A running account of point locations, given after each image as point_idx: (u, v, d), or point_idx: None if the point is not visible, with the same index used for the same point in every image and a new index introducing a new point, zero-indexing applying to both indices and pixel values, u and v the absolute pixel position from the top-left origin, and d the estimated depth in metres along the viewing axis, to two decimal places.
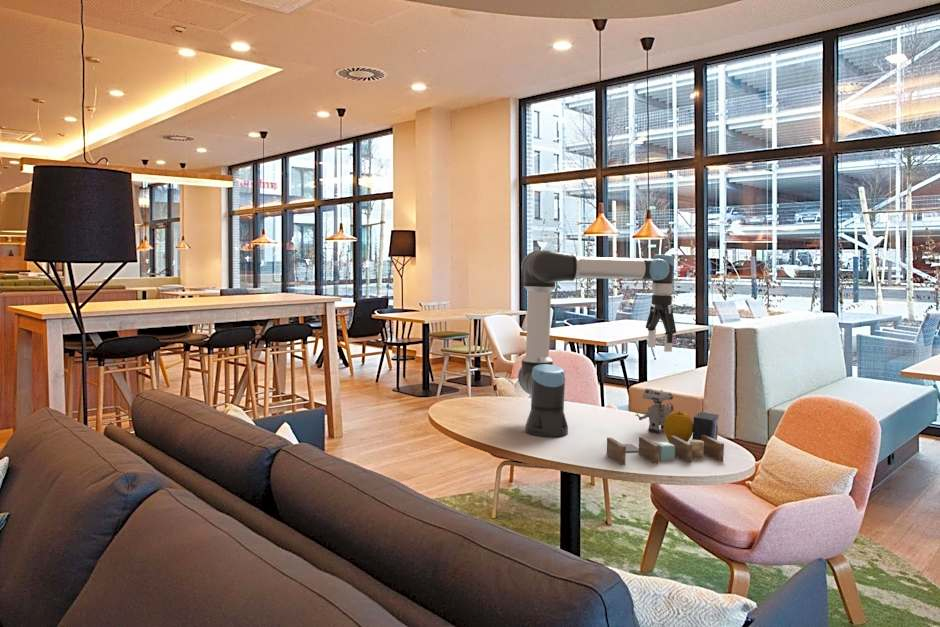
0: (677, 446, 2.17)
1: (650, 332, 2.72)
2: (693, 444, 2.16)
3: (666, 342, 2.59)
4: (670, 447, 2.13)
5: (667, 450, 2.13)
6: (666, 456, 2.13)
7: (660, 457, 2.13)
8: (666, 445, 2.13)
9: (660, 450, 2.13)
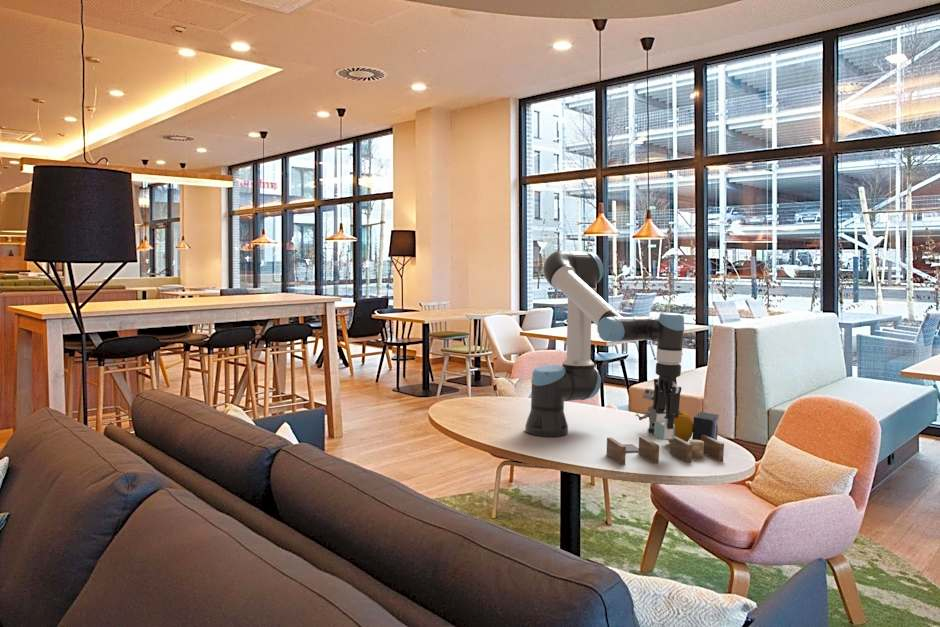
0: (677, 446, 2.17)
1: (659, 416, 2.17)
2: (693, 444, 2.16)
3: (666, 427, 2.12)
4: None
5: None
6: None
7: (660, 436, 2.13)
8: None
9: (660, 429, 2.13)
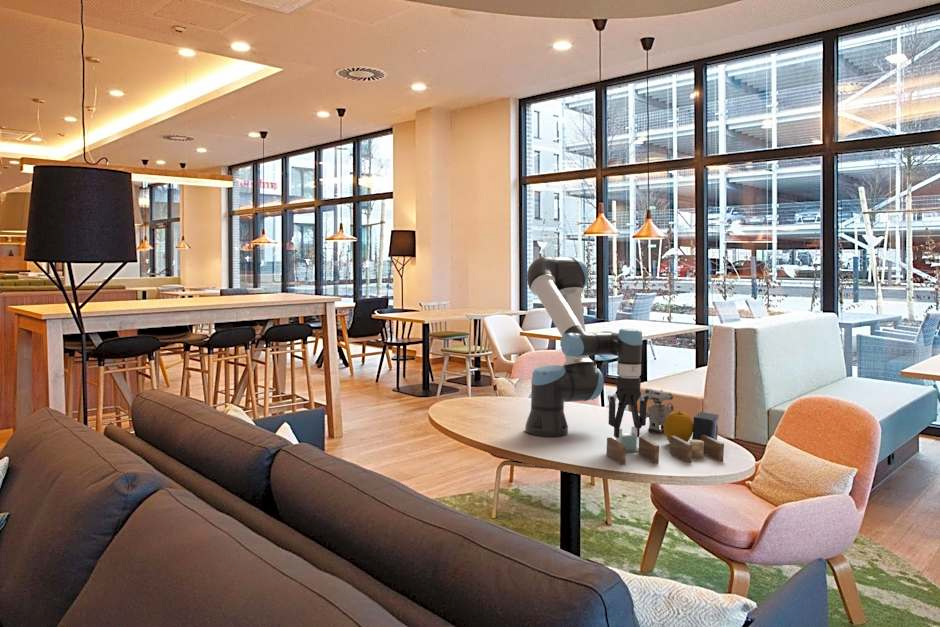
0: (677, 446, 2.17)
1: (632, 428, 2.25)
2: (693, 444, 2.16)
3: None
4: None
5: None
6: None
7: None
8: None
9: None
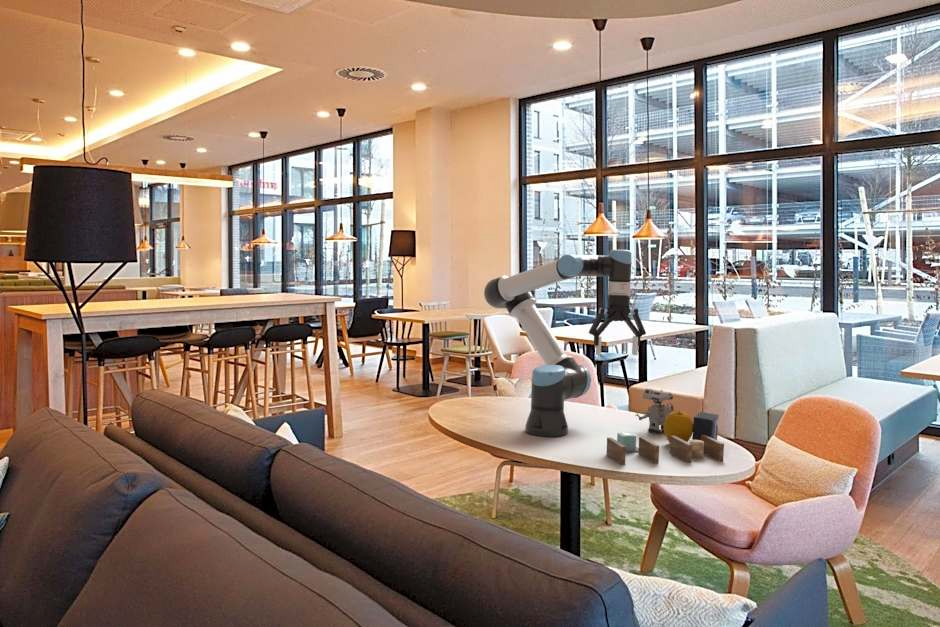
0: (677, 446, 2.17)
1: (633, 338, 2.41)
2: (693, 444, 2.16)
3: None
4: (621, 436, 2.23)
5: (619, 438, 2.24)
6: None
7: None
8: (621, 434, 2.24)
9: None
